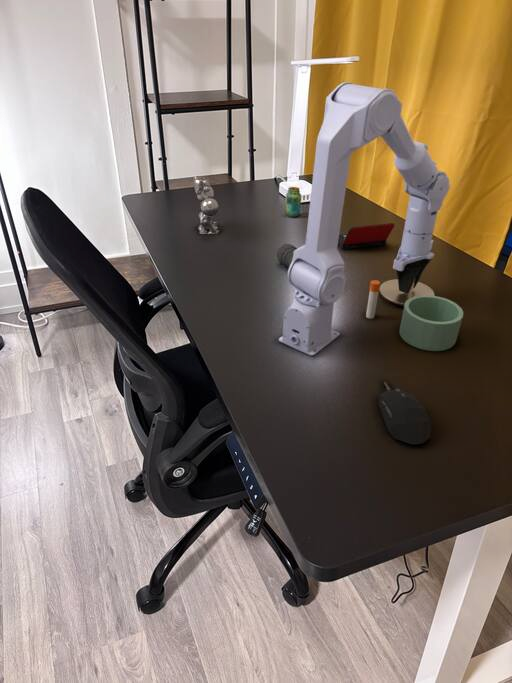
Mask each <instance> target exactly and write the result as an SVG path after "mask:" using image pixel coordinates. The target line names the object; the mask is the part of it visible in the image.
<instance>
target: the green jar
mask: <svg viewBox="0 0 512 683" xmlns="http://www.w3.org/2000/svg"><path fill="white" fill-rule="evenodd" d="M284 201H285V203H284V204H285V207H284V208H285V209H284V212H285V215H287V216H288V217H291V218H295V217H298V216H299V215H300V213H301V208H302V194H301V191H300V187H297V186H290V187H287V193H286V194H285V200H284Z"/></svg>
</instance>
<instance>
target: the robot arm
mask: <svg viewBox="0 0 512 683" xmlns="http://www.w3.org/2000/svg"><path fill="white" fill-rule="evenodd" d="M398 98H399V97H398V95H397V94H396V92H395V91H394V90H393V89H392V88H391V89H390V88H379V87H373V86H367V85H361V84H355V83H353V82H349V81H344V82H342V83H340V84H338V85H337V86H336V87H335V88H334V89H333V90H332V91H331V92H330V93H329V94H328V95H327V96H326V97H325V106H324V115H323V121H322V124H321V126H320V130H319V133H318V135H317V139H316V144H315V145H316V146H315V154H314V164H313V172H312V181H311V190H310V200H309V208H308V218H307V228H306V237H305V244H303V245H301V246H299V247H298V248H297V249H296V250H295V251H294V254H293V260H292V262H291V264H290V267H289V268H288V270H287V281H288V283H289V284H290V285H291V286H293V287H292V292H293V293H294V299H293V301H292V303H291V305H290V306H289V307H288V308H287V309H286V310H285V311H284V314H283V318H282V321H283V322H282V336H280V337H279V338H278V342H279V343H282V344H284V345H287V346H288V347H291V348H293V349H295V350H297V351H299V352H302V353H304V354H306V355H308V356H311V357H313V356H315V355H316V354H318V353H319V352H320V351H321V350H323V349H324V348H325V347H326V346H328V345H329V344H331V342H333V341H334V340H335V339H337V338H338V337H339V336H340V332H339V331H337V330H334V329H332V324H333V314H334V307H335V306H334V304H335V303H336V302H338V300H339V299H341V297H342V295H343V294H344V292H345V289H346V285H347V280H346V275H345V267H346V263H345V262H344V259H343V258H342V255H341V254H340V251H339V249H338V246H339V245H338V239H339V235H340V230H341V224H342V218H343V210H344V209H343V208H344V204H345V197H346V191H347V183H348V177H349V176H348V175H349V169H350V162H351V156H352V154H354V152H355V151H356V150H357V149H359V148H363V147H364V146H366V145H368V144H369V143H371V142H373V141H375V140H376V139H378V138H382V140H383V141H384V142H385V143H386V144H387V146H389V148H390V149H391V151H392V152H393V153H394V155H395V156H394V158H393V163H394V167H395V168H396V170H397V171H398V172H399V174H400V176H402V178H403V181H404V192H405V193H406V194H408V195H409V198H408V204H407V210H406V216H405V221H404V227H403V231H402V238H401V242H400V243H401V244H400V246H399V249H398V252H397V255H396V258H395V259H394V260H393V264H392V269H393V270H395V272H396V276H397V279H398V286H399V291H401V292H404V293H407V294H408V293H409V292H410V290H411V287H412V284H413V281H414V279H415V282H414V287H413V288H415V287H416V285H417V283H418V282H420V278H421V276H422V274H423V272H424V271H425V269H426V267H427V266H428V265H429V263H431V261H432V259H433V258H434V257H435V253H434V252H431V250H432V249H433V245H434V239H433V235H434V230H435V225H436V221H437V217H438V211H440V210H441V208H442V207H443V203H444V200H445V198H446V197H447V195H448V192H449V191H450V187H451V185H450V179H449V176H448V175H447V174H446V172H445V171H441V170H439V169H438V167H437V163H436V161H435V160H433V158H432V157H431V155H430V154H429V152H428V150H429V147H428V145H427V144H426V143H423V142H420V141H414V140H413V137H412V135H411V133H410V131H409V129H408V127H407V125H406V123H405V121H404V119H403V117H402V114H401V113H402V110H403V109H402V108H403V103H402V102H401V101H400V100H399V99H398Z"/></svg>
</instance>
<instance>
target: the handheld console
mask: <svg viewBox="0 0 512 683" xmlns="http://www.w3.org/2000/svg"><path fill="white" fill-rule="evenodd" d="M394 227H395V223H393V222H390V223H381V224H372V225H363V226H361V225H360V226H354V227H350V228H349V229H348V231H347V233H342V234H339V239H338V245H337V246H338V247H340V248H341V250H350V249H356V248H358V249H359V248H364V247H376V246H384V245H386V243H387V239H388V238H389V237H390V235H391V233H392V231H393V229H394Z"/></svg>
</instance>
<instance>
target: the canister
mask: <svg viewBox="0 0 512 683" xmlns="http://www.w3.org/2000/svg"><path fill="white" fill-rule="evenodd" d="M401 316H402V317H401V321H400V325H399V335H400V337H401V339H402V340H403V341H404V342H405V343H407V344H408V345H410V346H412V347H414V348H417V349H420V350H424V351H429V352H441V351H446V350H449V349H451V348H452V347H453V346H455V345H456V343H457V340H458V336H459V332H460V329H461V325H462V322H463V319H464V310H463V308H462V307H461V306H460V305H458V304H457V303H456V302H454V301H453V300H450V299H449V298H445V297H441V296H438V295H434V296H432V295H420V296H415V297H412V298H410V299H408V300H407V301H406V302H405V305H404V306H403V311H402V315H401Z"/></svg>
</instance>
